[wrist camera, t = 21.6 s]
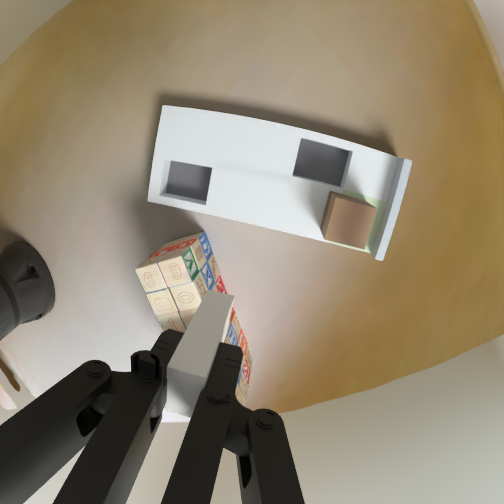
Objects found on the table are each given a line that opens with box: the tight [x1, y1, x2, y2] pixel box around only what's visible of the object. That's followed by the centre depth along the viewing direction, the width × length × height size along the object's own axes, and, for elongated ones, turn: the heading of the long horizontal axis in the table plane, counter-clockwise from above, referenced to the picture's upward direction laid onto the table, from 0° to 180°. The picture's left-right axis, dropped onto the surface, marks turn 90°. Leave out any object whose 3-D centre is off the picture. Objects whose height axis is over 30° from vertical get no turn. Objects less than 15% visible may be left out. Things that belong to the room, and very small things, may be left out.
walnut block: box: [320, 191, 377, 249], centre depth 32 cm, size 4×4×4 cm
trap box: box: [147, 105, 412, 261], centre depth 34 cm, size 29×12×4 cm, turn 78°
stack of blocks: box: [135, 232, 252, 407], centre depth 37 cm, size 21×6×12 cm, turn 17°
